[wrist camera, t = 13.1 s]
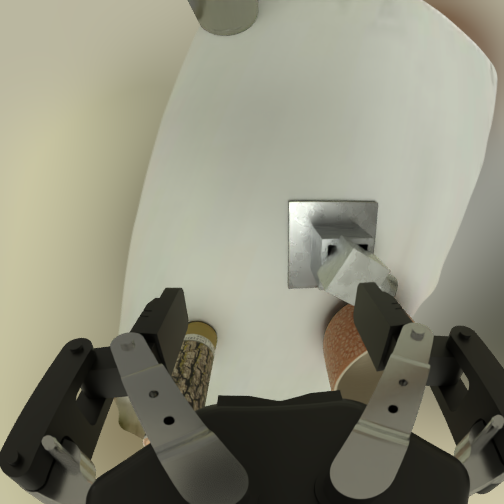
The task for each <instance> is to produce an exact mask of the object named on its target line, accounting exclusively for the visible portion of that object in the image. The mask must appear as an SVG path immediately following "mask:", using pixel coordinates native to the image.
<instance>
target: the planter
mask: <svg viewBox="0 0 504 504" xmlns="http://www.w3.org/2000/svg"><path fill="white" fill-rule="evenodd" d="M353 312H354V306H353V305H351V304H347V305H346V306H344V307H343V308H342V309H340V310H339V311H338V312H337V313H336V314H335V316H334V317H333V318H332V319H331V321H330V322H329V324H328V326H327V329H326V331H325V335H324V340H323V350H324V358H325V364H326V369H327V373H328V377H329V382H330V387H331V391H336V390H340V392H341V396H342V398H344V399H351V400H355V401H359V402H362V403H364V404H367V405H368V403H369V401H370V399H371V397H372V395H373V393H374V391H375V389H376V387H377V385H378V382H379V380H380V378H381V376H382V374H383V372H384V371H378V372H377V371H376V369H375V367H374V365H373V362H372V360H371V358H370V356H369V354H368V351H367V349H366V347H365V345H364V343H363V341H362V339H361V337H360V335H359V333H358V330H357V328H356V326H355V324H354V319H353ZM406 314H407V313H406ZM407 315H408V314H407ZM408 316H409V315H408ZM409 317H410V316H409ZM410 319H411V320H412V318H411V317H410ZM412 321H413V320H412ZM413 323H415V322H414V321H413Z"/></svg>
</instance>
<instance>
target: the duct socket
mask: <svg viewBox="0 0 504 504" xmlns="http://www.w3.org/2000/svg"><path fill="white" fill-rule="evenodd" d="M377 211H378V203H377V202H372V201H289V257H288V288H289V289H293V288H317V287H318V289H319V290H324V288H323V286H322V284H321V282H320V279H319V277H318V275H317V272H318V270H319V269H320V267H321V266H322V264H323V263H324V261H325V260H326V258H327V252H328V245H335V244H336V243H337V241H338V239H339V238H340V236H341V235H343V236H344V237H346V238H348V239H349V240H351V241H353V242H354V243H356V244H358V245H359V246H361V247H362V248H364V249H366V250H367V251H369V252H370V253H372V254H373V253H374V244H375V235H376V224H377Z"/></svg>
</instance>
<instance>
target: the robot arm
mask: <svg viewBox="0 0 504 504" xmlns="http://www.w3.org/2000/svg"><path fill="white" fill-rule="evenodd" d="M188 2H189V4H190V6H191V8H192V10H193V11H194V14H195V15H196V17H197V20H198V21H199V23H200V25H201V26H202V27H203V28H204V29H205V30H206V31H208V32H210V33H213V34H216V35H233V34H237V33H240V32H242V31H244V30H246V29H248V28H249V27H250V26H251V25H252V24H253V23H254V22H255V20H256V18H257V14H258V0H188ZM353 319H354V324H355V326H356V328H357V330H358V333H359V335H360V337H361V339H362V341H363V343H364V345H365V347H366V349H367V351H368V354H369V356H370V358H371V360H372V362H373V365H374V367H375V369H376V371H377V372H378V371H384V372H383V374H382V376H381V378H380V380H379V382H378V385H377V387H376V389H375V391H374V393H373V395H372V397H371V399H370V401H369V403H368V405H367V404H364V403H362V402H359V401H355V400H351V399H344V398H342V396H341V392H340V390H336V391H327V392H317V393H309V394H306V395H302V396H299V397H295V398H291V399H288V400H284V401H275V400H269V399H263V398H257V397H252V396H221V395H218V402H217V404H214V405H210V406H206V407H203V408H200V409H198V410H196V411H194V410H193V408H192V407H191V406H190V404H189V403H188V401H187V400H186V398H185V397H184V396H183V394H182V393H181V391H180V390H179V388H178V387H177V385H176V384H175V382H174V381H173V379H172V378H171V376H172V373H173V370H174V367H175V364H176V361H177V358H178V355H179V352H180V349H181V346H182V344H183V341H184V338H185V335H186V332H187V329H188V315H187V309H186V303H185V297H184V292H183V289H182V288H165V290H164V291H163V293H162V295H161V296H160V298H155V299H153V300H152V301H151V302H149V303H148V304H147V305H146V307H145V309H144V311H143V312H142V313H141V315H140V317H139V318H138V320H137V321H136V323H135V325H134V326H133V328H132V329H131V331H130V332H129V333H124V334H121V335H119V336H117V337H116V338H115V339H113V341H112V342H111V344H110V346H109V347H102V348H93V345H92V343H91V341H90V340H88V339H86V338H78V339H74V340H72V341H70V342H68V343H67V344H66V345H65V346H64V347H63V348H62V350H61V351H60V353H59V354H58V355H57V357H56V358H55V360H54V361H53V363H52V364H51V366H50V367H49V369H48V370H47V372H46V373H45V375H44V376H43V378H42V380H41V381H40V382H39V384H38V386H37V387H36V389H35V391H34V392H33V394H32V395H31V397H30V398H29V400H28V402H27V403H26V405H25V407H24V409H23V410H22V412H21V414H20V416H19V417H18V419H17V421H16V423H15V424H14V426H13V428H12V430H11V432H10V434H9V436H8V437H7V439H6V441H5V443H4V445H3V447H2V450H1V451H0V467H1V469H2V471H3V472H4V473H5V474H6V475H8V476H9V477H10V478H11V479H13V480H14V481H15V482H16V483H17V484H19V486H20V487H22V488H23V489H24V490H25V491H27V492H28V493H29V494H31V495H32V496H34V497H35V498H37V499H38V500H40V501H41V502H43V503H45V504H468V498H469V496H471V495H473V494H475V493H478V494H485V493H488V492H490V491H491V490H492V489H494V488H495V487H496V486H498V485H499V484H500V483H501V482H503V481H504V369H503V367H502V366H501V365H500V363H499V362H498V361H497V359H496V358H495V356H494V355H493V354H492V353H491V351H490V350H489V349H488V347H487V346H486V345H485V344H484V342H483V341H482V340H481V339H480V337H479V336H478V335H477V334H476V333H475V331H473V330H472V329H470V328H468V327H465V326H455V327H453V328H452V329H451V332H450V334H449V336H434V334H433V332H432V330H431V329H430V328H429V327H427V326H426V325H423V324H420V323H413V321H412V320H411V319H410V317H409V316H408V315H407V314H406V312H405V311H404V310H403V309H402V307H401V306H400V305H399V304H398V302H397V301H396V299H395V298H394V297H393V296H392V295H390V294H388V293H387V292H385V291H383V292H382V290H381V289H380V288H379V287H378V285H377V284H376V283H375V282H364V283H359V284H358V286H357V292H356V299H355V305H354V312H353ZM463 372H464V373H465V375H466V377H467V378H468V380H469V390H467V388H466V387H465V385H464V383H463V382H462V380H461V378H460V377H461V375H462V373H463ZM425 386H430V387H431V390H432V391H433V394H434V396H435V398H436V400H437V402H438V404H439V406H440V409H441V411H442V413H443V415H444V417H445V419H446V422H447V424H448V427H449V429H450V431H451V433H452V436H453V439H454V441H455V444H456V448H455V451H454V456H452V455H451V454H449V453H447V452H445V451H443V450H441V449H440V448H438V447H436V446H434V445H433V444H431V443H429V442H427V441H426V440H424V439H422V438H421V437H419V436H417V435H416V434H414V433H412V432H411V431H412V429H413V426H414V423H415V420H416V417H417V414H418V410H419V407H420V404H421V401H422V397H423V394H424V390H425ZM80 388H81V389H82V391H81V393H80V394H79V397H78V398H77V400H76V396H77V393H78V391H79V389H80ZM124 396H128V397H129V399H130V402H131V404H132V406H133V408H134V411H135V413H136V415H137V417H138V419H139V421H140V423H141V425H142V427H143V429H144V431H145V433H146V435H147V437H148V439H149V441H150V443H149V444H148V445H146V446H145V447H144V448H142V449H141V450H139V451H138V452H136V453H135V454H133V455H132V456H131V457H129V458H127V459H126V460H125V461H123V462H121V463H120V464H118V465H117V466H115V467H114V468H112V469H111V470H109V471H107V472H106V473H104V474H103V475H101V476H100V477H98V478H97V479H95V476H96V469H95V466H94V464H93V463H92V461H91V458H92V455H93V452H94V449H95V447H96V444H97V441H98V438H99V435H100V433H101V430H102V427H103V424H104V422H105V419H106V417H107V414H108V411H109V409H110V406H111V404H112V401H113V399H114V397H124Z"/></svg>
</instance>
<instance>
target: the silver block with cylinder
mask: <svg viewBox="0 0 504 504" xmlns="http://www.w3.org/2000/svg"><path fill="white" fill-rule="evenodd" d="M389 272H390V270H389V269H388V268H387V267H386V266H385V265H384V264H383V263H382V262H381V261H380V260H379V259H378V258H377V257H376V256H375V255H374V254H372V253H370V252H369V251H367V250H366V249H364V248H362V247H361V246H359V245H358V244H356V243H354V242H353V241H351V240H349V239H348V238H346V237H344V236H343V235H341V236H340V238H339V239H338V241H337V243H336V244H335V245H328V252H327V258H326V260H325V261H324V263H323V264H322V266H321V267H320V269H319V270H318V272H317V275H318V277H319V279H320V282H321V284H322V286H323V288H324V291H325V292H327V293H329V294H331V295H333V296H335V297H337V298H339V299H341V300H343V301H345V302H347V303H349V304H351V305H353V306H354V305H355V299H356V292H357V286H358V284H359V283H364V282H375V283H376V284H377V285H378V287H379V288H380V289H381V290H382V292H383V291H385V292H387V293H388V294H390V295H392V296H393V297H394V296H395V294H396V291H397V280H396V278H395V277H393V276H392V275H390V274H389Z"/></svg>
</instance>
